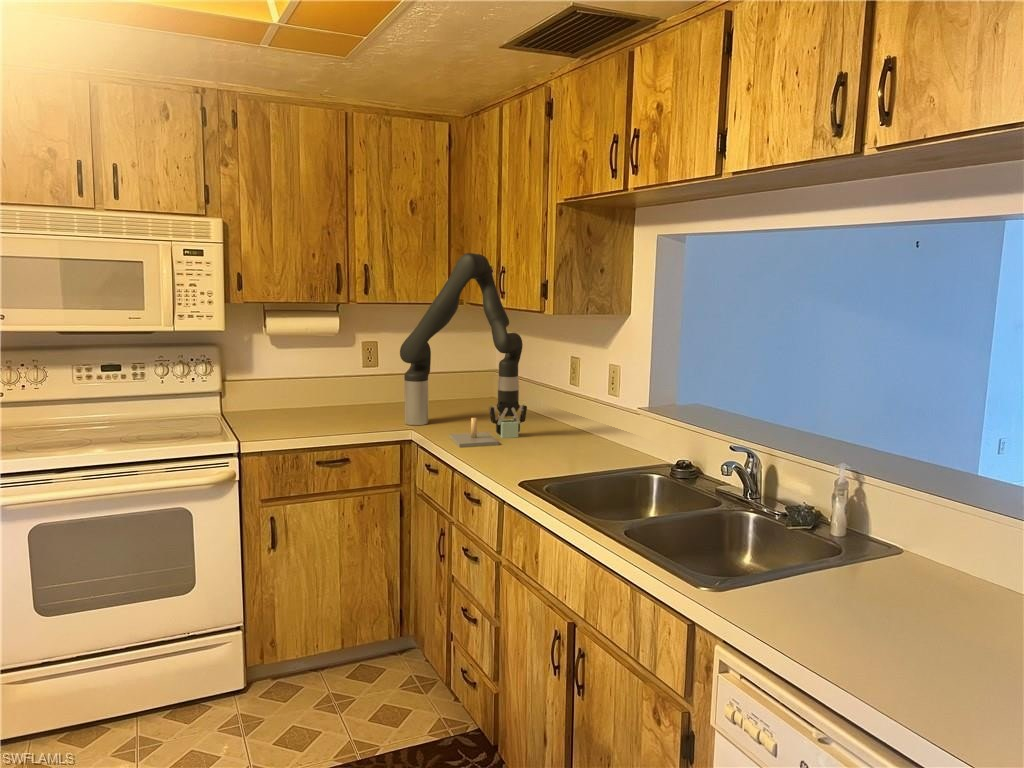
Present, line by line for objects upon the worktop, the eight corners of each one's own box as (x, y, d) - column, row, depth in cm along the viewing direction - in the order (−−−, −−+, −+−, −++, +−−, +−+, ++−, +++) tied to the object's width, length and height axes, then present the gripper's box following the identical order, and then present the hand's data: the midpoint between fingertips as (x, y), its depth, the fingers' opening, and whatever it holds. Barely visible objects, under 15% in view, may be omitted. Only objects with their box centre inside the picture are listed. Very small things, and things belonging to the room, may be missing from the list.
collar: (497, 434, 271) (497, 420, 270) (513, 433, 272) (513, 419, 271) (502, 438, 265) (502, 423, 264) (518, 437, 267) (518, 422, 266)
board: (449, 437, 265) (449, 414, 264) (487, 435, 269) (487, 413, 268) (459, 447, 250) (459, 423, 249) (499, 445, 254) (499, 421, 253)
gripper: (524, 386, 272) (523, 430, 274) (486, 387, 267) (486, 432, 270) (530, 389, 265) (529, 435, 267) (491, 390, 260) (491, 437, 263)
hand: (507, 433), depth 268 cm, fingers closed on collar, 6 cm apart
